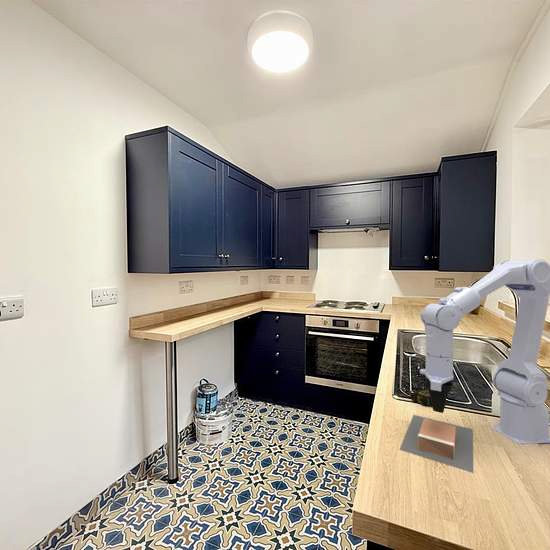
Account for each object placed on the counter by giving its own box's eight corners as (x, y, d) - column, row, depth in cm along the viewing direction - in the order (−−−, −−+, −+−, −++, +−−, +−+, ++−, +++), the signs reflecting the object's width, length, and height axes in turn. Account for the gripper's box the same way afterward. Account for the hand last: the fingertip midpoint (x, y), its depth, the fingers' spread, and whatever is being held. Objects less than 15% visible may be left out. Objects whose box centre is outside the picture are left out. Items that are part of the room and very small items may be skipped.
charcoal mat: (413, 416, 84) (413, 414, 84) (472, 430, 76) (472, 429, 76) (399, 451, 68) (399, 449, 67) (473, 474, 60) (473, 472, 60)
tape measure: (422, 398, 97) (423, 386, 97) (444, 406, 91) (444, 394, 91) (410, 402, 93) (410, 390, 93) (431, 411, 87) (431, 398, 87)
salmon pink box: (423, 418, 76) (417, 435, 68) (456, 426, 72) (454, 445, 64) (423, 430, 76) (417, 449, 68) (455, 438, 72) (454, 460, 64)
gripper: (424, 345, 79) (423, 396, 79) (416, 358, 67) (415, 418, 67) (455, 349, 75) (454, 403, 75) (452, 364, 63) (451, 427, 63)
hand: (438, 410), depth 71 cm, fingers closed
